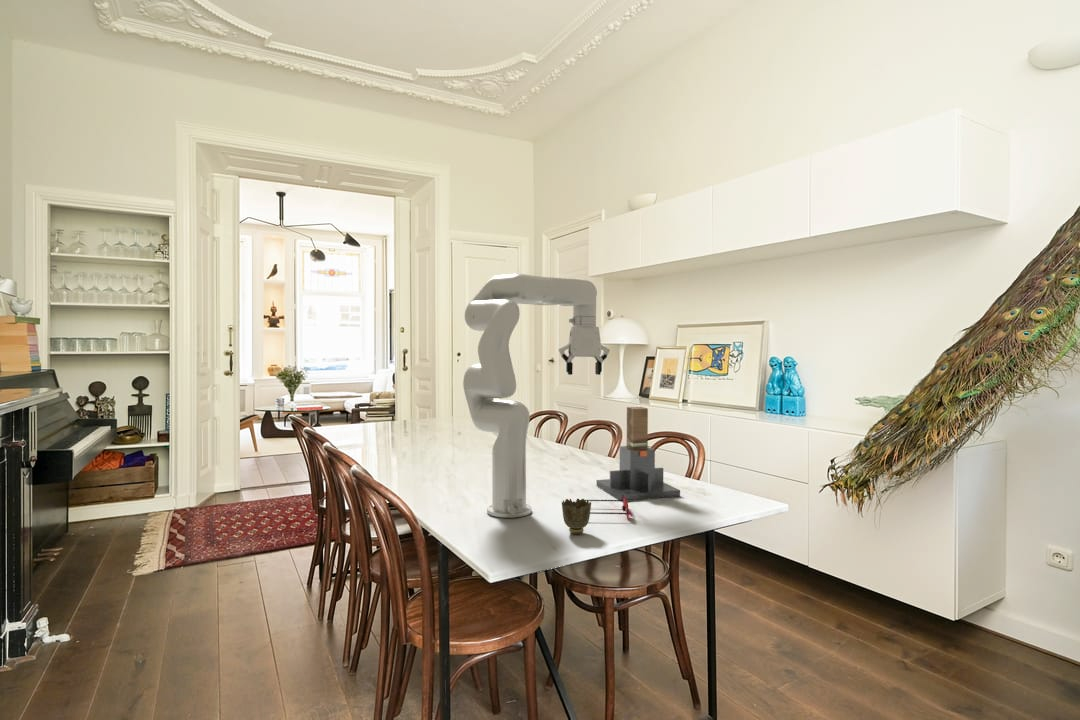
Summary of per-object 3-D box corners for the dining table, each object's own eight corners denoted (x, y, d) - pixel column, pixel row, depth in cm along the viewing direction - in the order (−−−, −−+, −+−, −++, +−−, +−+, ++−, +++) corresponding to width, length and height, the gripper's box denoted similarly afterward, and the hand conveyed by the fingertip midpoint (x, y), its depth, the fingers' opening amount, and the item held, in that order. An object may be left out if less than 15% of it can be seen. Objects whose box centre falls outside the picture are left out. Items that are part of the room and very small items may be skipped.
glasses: (631, 523, 161) (632, 504, 161) (570, 522, 162) (570, 504, 162) (626, 509, 175) (626, 492, 175) (569, 508, 176) (569, 491, 175)
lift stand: (680, 496, 187) (680, 451, 187) (620, 501, 182) (620, 455, 181) (650, 482, 206) (651, 441, 206) (596, 486, 201) (596, 444, 200)
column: (647, 467, 192) (648, 408, 191) (633, 468, 191) (633, 408, 190) (640, 464, 197) (641, 406, 196) (626, 465, 195) (626, 407, 195)
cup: (589, 528, 155) (589, 497, 155) (592, 537, 148) (593, 505, 147) (560, 528, 155) (560, 498, 155) (562, 538, 147) (562, 505, 147)
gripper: (562, 321, 192) (561, 375, 192) (613, 322, 196) (612, 375, 196) (556, 322, 199) (555, 374, 199) (605, 323, 203) (604, 374, 204)
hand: (584, 374), depth 198 cm, fingers open, 9 cm apart
